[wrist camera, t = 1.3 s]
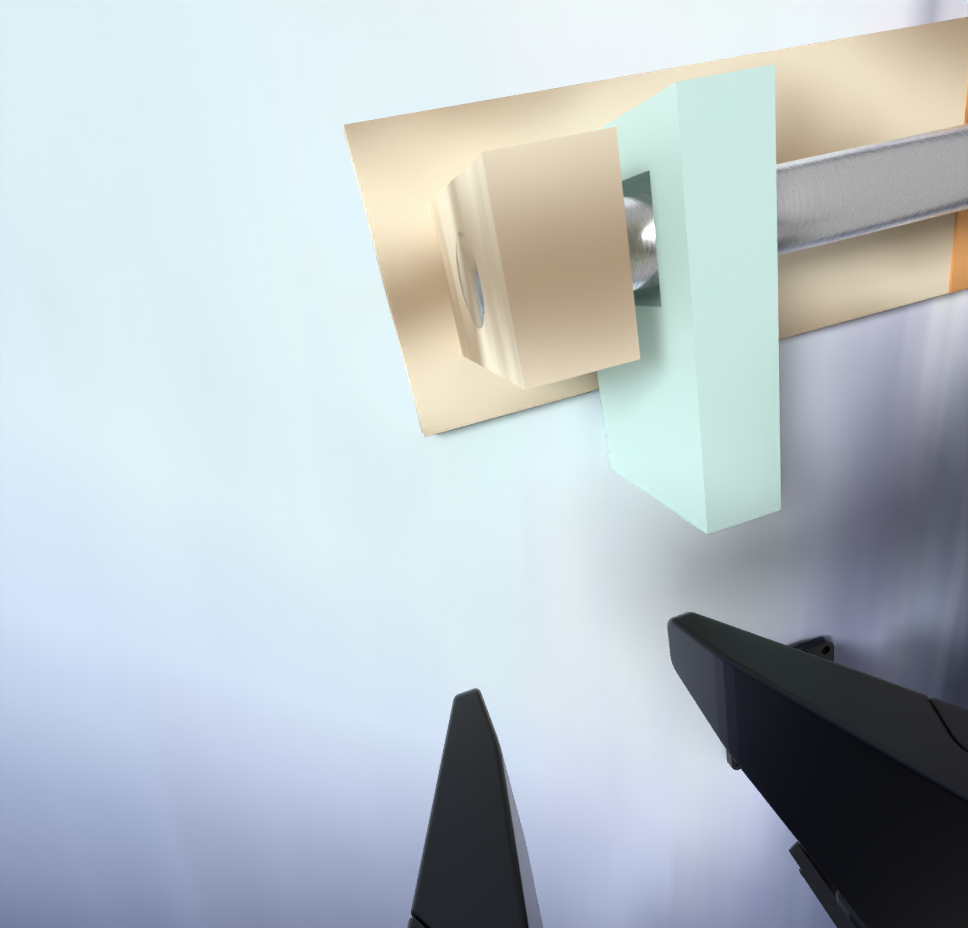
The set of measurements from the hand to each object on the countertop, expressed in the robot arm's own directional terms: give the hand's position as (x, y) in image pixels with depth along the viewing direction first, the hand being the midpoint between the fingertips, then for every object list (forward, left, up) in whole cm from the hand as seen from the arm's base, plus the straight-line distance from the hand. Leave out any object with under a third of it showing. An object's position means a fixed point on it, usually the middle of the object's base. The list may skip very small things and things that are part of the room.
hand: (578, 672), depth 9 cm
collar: (+4, -8, -12) cm, 14 cm away
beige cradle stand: (+6, -16, -13) cm, 22 cm away
